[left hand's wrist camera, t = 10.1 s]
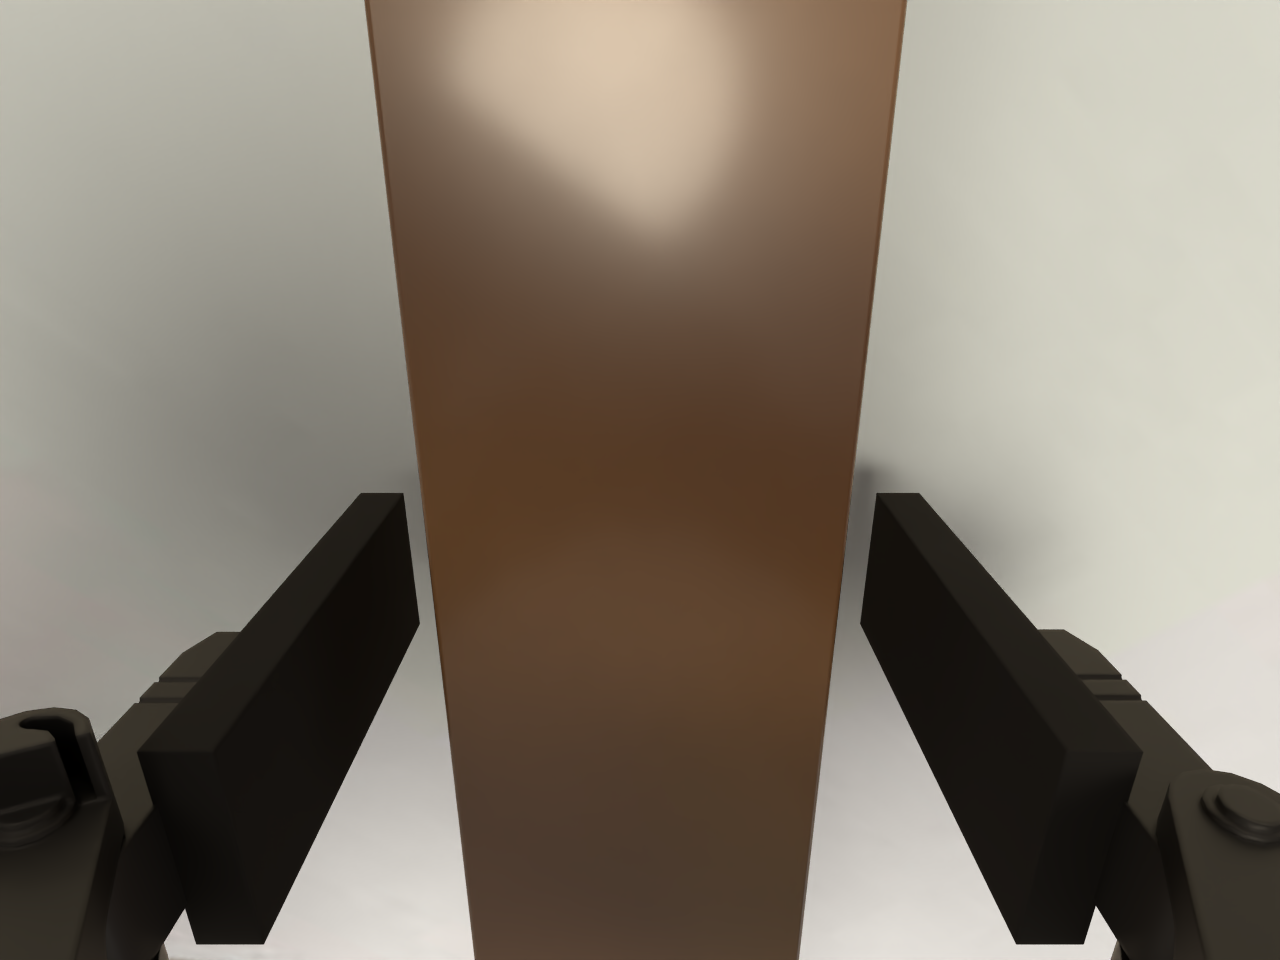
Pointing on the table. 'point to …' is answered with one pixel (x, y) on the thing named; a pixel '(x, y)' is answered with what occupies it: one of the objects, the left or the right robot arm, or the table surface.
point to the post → (636, 439)
